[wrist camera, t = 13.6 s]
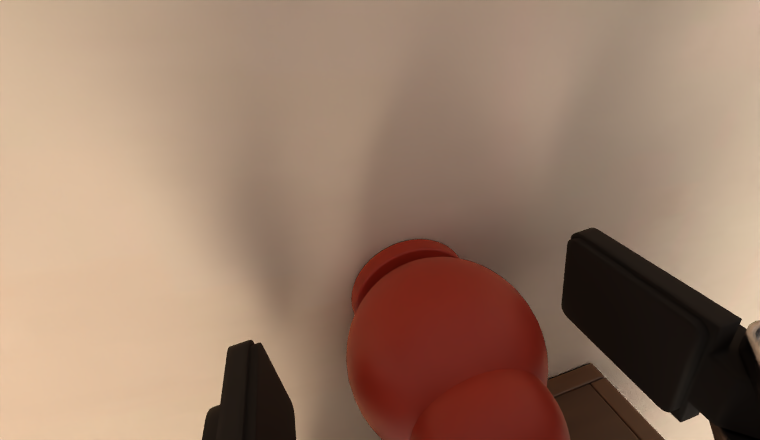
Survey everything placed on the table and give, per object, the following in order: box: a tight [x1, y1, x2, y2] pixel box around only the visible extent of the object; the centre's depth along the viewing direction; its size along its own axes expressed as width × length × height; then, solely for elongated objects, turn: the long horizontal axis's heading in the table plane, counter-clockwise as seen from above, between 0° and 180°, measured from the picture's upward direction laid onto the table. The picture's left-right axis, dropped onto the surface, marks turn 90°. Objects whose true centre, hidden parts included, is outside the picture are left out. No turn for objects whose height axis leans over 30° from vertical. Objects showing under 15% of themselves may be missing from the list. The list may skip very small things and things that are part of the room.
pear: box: [346, 239, 570, 440], centre depth 9 cm, size 5×5×7 cm
